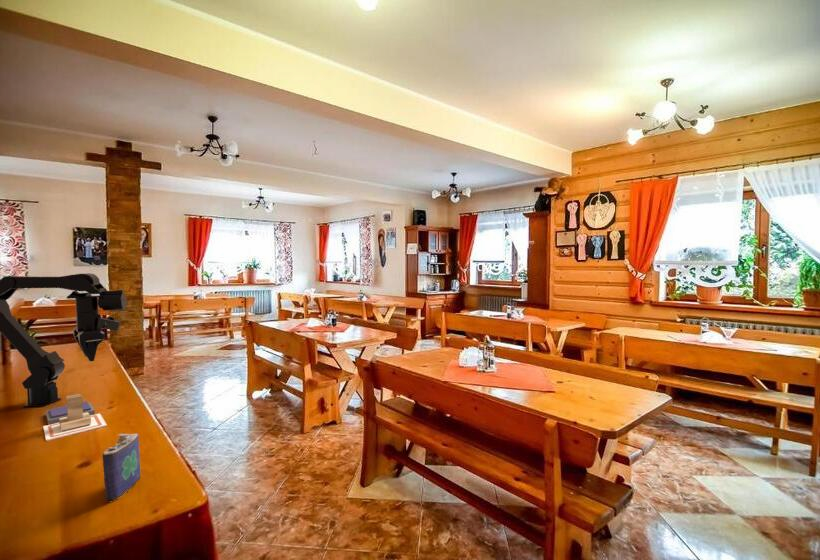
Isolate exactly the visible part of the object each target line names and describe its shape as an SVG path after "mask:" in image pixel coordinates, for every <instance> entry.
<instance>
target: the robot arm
mask: <svg viewBox="0 0 820 560" xmlns="http://www.w3.org/2000/svg"><path fill="white" fill-rule="evenodd" d="M19 289H64V290H68V291H72V292H71V293H70V294H69V295H67V296H66V299H70V300H71V299H74V302H75V318H74V319H75V321H76V326H75V327H74V328H73V329H72V332H73V333H72V334H73V336H74V339H75V341H76V342H77V345H78V347H79V348H80V349H81V351H82V353H83V355H84V356H85V357H86V358H87V360H88V361H89V362H94V361H95V358H96V354H97V349H98V347H99V345H101V343H102V342H103V341H105V339H106V333H105V332H104V331H103V329H104V330H111V331H113V332H119V329H120V327H121V326H120V325H122V321H118V320H115V317H114V316H109V315H108V316H107V317H106V318H104V317H103V318H102V315H101V314H100V313H99V310H100V309H102V310H103V311H104V312H107V311H108V312H109V311H124V310H126V309H127V308H128V307H127V305H128V299H127V296H126V294H125V290H124V289H117V290H109V289H107V288H106V287H105V286H104V285H103V284H102V283H101V282H100V278H99V277H98V276H97V275H96V274H95V273H90V272H89V273H88V272H87V273H75V274H68V275H63V276H18V275H6V276H4V277H3V276H2V277H1V278H0V333H1V334H2V335H3V337H4V338H5V339H6V340H7V341H8V342H9V343H10V344H11V345H12V346H13V347H14V348H15V349H16V350H17V352H18V353H20V355H21V356H22V357H23V358H24V359H25V362H26V366H27V370H28V371H29V373H30V375H28V377H26V379H24V380H23V381H22V382H21V384H22V386H23V388H24V389H25V390H26V393H27V396H26V397H27V403H26V404H23V405H22V407H23V408H27V407H28V408H31V407H34V408H35V407H45V406H48V405H50V404H53V403H55V402H58V401H61V400H62V398H61V397H59V392H58V387H57V382H56V381H57V380H58V378H59V376H60V375H61V374H62V373H63V372H64V370H65V367H66V365H65V363H64V362H65V359H64V358H62V357H61V356H60V355H59V354H58V352H57V351H55V350H53V351H51V352H48V351H46V350H44V349H43V348H42V347H41V346H40V344H39V343H37V341H36V340H35V339H34V337H32V336H31V335H30V334H29V332H27V330H26V329H25V328H24V327H23V326H22V325H21V324H20V323H19V321H18V320H16V318H15V317H14V316H13V315H12V313H11V308H10V305H9V303H8V301H7V300H9V299H10V298H11V297H12V296H13V295H14V294H15V292H16V291H18V290H19Z"/></svg>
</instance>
